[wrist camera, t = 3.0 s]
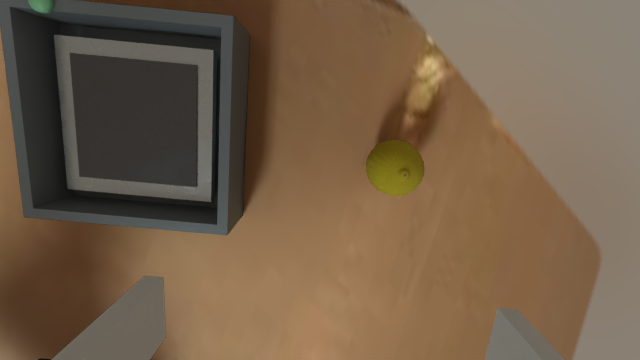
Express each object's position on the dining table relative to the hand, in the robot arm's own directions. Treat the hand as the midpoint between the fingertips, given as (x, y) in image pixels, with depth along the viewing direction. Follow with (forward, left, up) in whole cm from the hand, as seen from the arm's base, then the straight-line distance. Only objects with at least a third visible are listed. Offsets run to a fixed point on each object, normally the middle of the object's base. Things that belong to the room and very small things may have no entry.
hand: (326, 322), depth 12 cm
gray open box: (+5, +19, -24) cm, 31 cm away
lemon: (+3, -7, -24) cm, 25 cm away
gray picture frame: (+5, +19, -20) cm, 29 cm away
